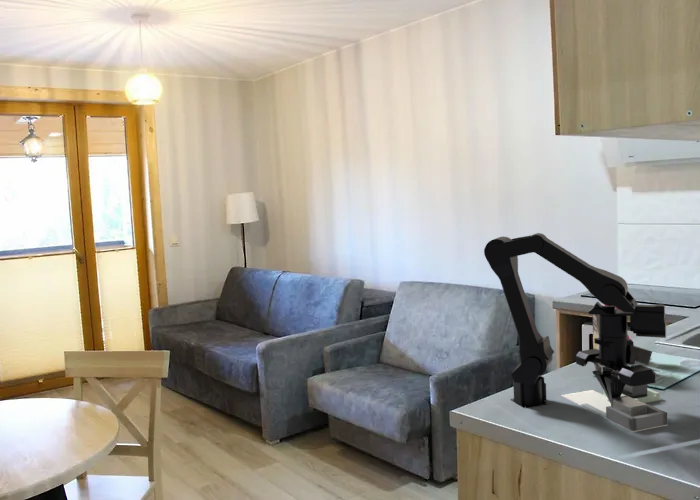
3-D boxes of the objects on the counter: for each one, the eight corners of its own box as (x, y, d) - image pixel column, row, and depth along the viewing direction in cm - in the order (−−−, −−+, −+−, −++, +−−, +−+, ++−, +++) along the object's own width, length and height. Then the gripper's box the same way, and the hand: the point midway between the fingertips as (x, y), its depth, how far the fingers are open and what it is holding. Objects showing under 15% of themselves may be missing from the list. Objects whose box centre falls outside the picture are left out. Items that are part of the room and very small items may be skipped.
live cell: (632, 402, 141) (632, 386, 141) (614, 394, 147) (614, 379, 147) (647, 399, 142) (647, 384, 142) (628, 391, 148) (628, 377, 148)
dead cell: (630, 423, 129) (630, 407, 129) (611, 414, 135) (610, 398, 135) (647, 420, 130) (646, 404, 130) (626, 411, 136) (626, 395, 136)
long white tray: (632, 434, 125) (632, 419, 125) (560, 397, 148) (560, 384, 148) (668, 427, 128) (668, 412, 127) (592, 392, 151) (591, 379, 150)
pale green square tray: (627, 408, 139) (627, 399, 139) (601, 395, 148) (601, 387, 148) (661, 402, 142) (661, 393, 141) (633, 390, 150) (633, 381, 150)
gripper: (677, 339, 128) (677, 413, 130) (614, 321, 146) (616, 386, 148) (631, 346, 125) (632, 422, 127) (573, 327, 143) (575, 394, 145)
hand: (614, 404), depth 137 cm, fingers closed
